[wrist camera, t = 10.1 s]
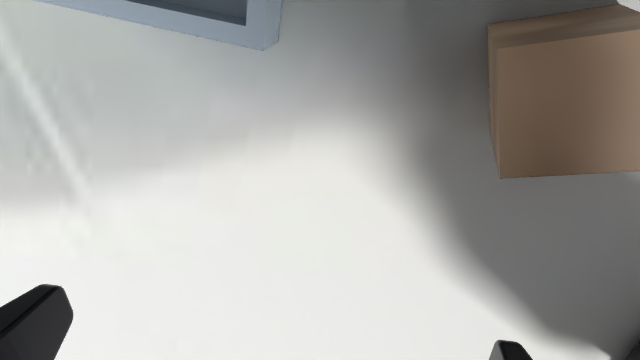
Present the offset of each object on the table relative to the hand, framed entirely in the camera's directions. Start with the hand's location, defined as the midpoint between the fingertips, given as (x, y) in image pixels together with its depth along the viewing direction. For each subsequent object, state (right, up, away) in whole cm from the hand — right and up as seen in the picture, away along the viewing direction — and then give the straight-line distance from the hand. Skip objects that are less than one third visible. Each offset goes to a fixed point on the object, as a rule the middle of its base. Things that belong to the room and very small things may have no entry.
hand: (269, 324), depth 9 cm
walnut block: (+10, +7, +8) cm, 15 cm away
